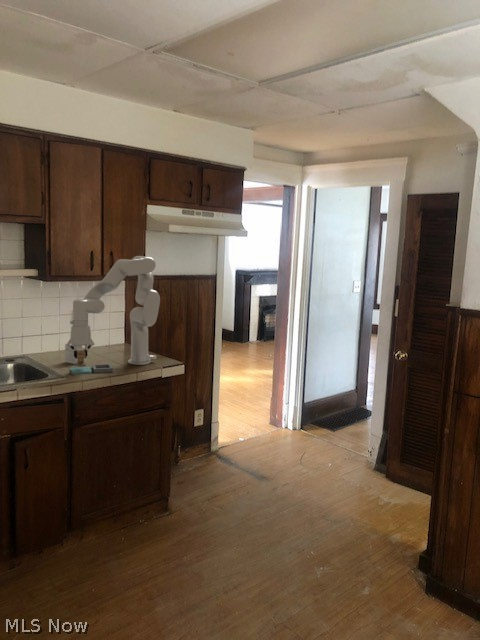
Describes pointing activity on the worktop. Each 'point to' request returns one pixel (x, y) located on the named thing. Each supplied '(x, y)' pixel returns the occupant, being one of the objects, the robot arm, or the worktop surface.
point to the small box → (70, 354)
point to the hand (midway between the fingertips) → (80, 357)
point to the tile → (80, 370)
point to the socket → (102, 368)
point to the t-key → (80, 358)
